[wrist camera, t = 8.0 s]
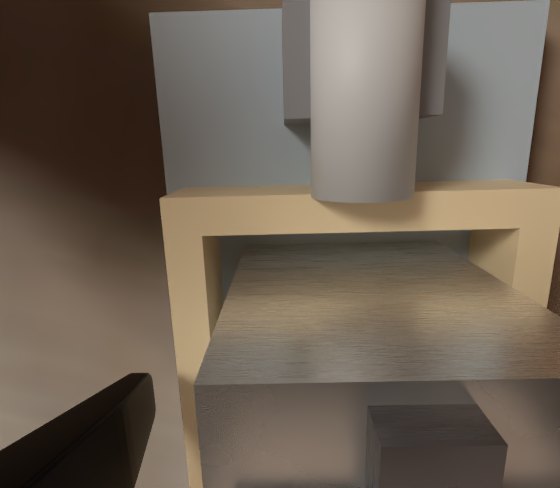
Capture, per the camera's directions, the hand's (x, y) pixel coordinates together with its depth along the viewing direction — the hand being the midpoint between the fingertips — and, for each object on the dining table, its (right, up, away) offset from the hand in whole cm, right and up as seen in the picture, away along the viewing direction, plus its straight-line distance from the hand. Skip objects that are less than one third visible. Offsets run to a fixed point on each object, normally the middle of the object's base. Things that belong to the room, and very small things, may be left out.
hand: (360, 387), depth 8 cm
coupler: (0, +1, +2) cm, 3 cm away
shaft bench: (0, +1, +3) cm, 4 cm away
